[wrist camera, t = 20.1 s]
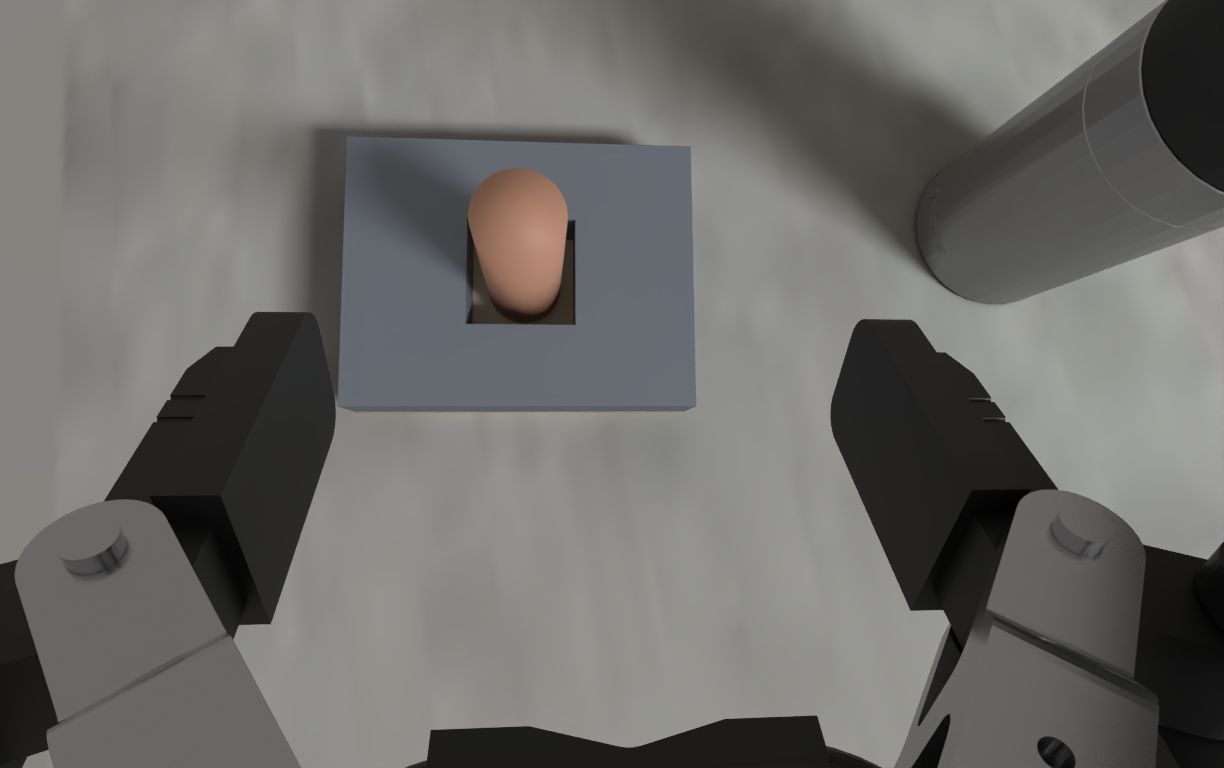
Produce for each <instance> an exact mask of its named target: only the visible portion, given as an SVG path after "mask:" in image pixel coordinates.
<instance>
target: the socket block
mask: <svg viewBox="0 0 1224 768" xmlns="http://www.w3.org/2000/svg"><path fill="white" fill-rule="evenodd" d="M511 168H522V169H528V170H532V171H535V172H538V173H540V174H542V175H544V176H545V177H547V178H548V179H549V180H550V181H552V182H553V183H554V184H555V185H556V186H557V188H558V189H559V191H560V192H561V194H562V196H563V198H564V200H565V203H566V206H567V212H568V222H567V232H566V241H565V250H564V260H563V269H562V278H561V287H560V295H559V299H558V302H557V304H556V306H555V307H554V309H553V310H552V311H551V312H550V313H549V314H548V315H547V316H546V317H544V318H543V319H541V320H539V321H536V322H532V323H517V322H514V321H511V320H509V319H507V318H505V317H503V316H502V315H501V314H500V313H499V312H498V311H497V310H496V309H495V307H494V306H493V304H492V302H491V299H490V296H489V293H488V289H487V286H486V282H485V279H484V275H483V272H482V268H481V265H480V261H479V258H478V255H477V251H476V248H475V244H474V241H473V237H472V234H471V230H470V227H469V222H468V209H469V204H470V201H471V198H472V196H473V194H474V192H475V190H476V189H477V187H478V186H479V185H480V184H481V183H482V182H483V181H484V180H485V179H486V178H488V177H489V176H491V175H492V174H494V173H497V172H499V171H502V170H506V169H511ZM695 406H696V383H695V335H694V287H693V240H692V192H691V147H688V146H654V145H621V144H587V143H554V142H520V141H487V140H454V139H420V138H387V137H353V136H347V146H346V175H345V203H344V232H343V261H342V290H341V319H340V348H339V377H338V407H342V408H345V409H348V410H351V411H354V412H358V413H369V412H684V411H686V410H688V409H690V408H693V407H695Z"/></svg>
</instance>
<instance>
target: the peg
mask: <svg viewBox="0 0 1224 768" xmlns="http://www.w3.org/2000/svg"><path fill="white" fill-rule="evenodd" d="M468 222H469V227H470V230H471V234H472V237H473V241H474V244H475V248H476V251H477V255H478V258H479V261H480V265H481V268H482V272H483V275H484V279H485V282H486V286H487V289H488V293H489V296H490V299H491V302H492V304H493V306H494V307H495V309H496V310H497V311H498V312H499V313H500V314H501V315H502V316H503V317H505V318H507V319H509V320H511V321H514V322H517V323H532V322H536V321H539V320H541V319H543V318H544V317H546V316H547V315H548V314H549V313H550V312H551V311H552V310H553V309H554V307H555V306H556V304H557V302H558V299H559V295H560V287H561V278H562V269H563V260H564V250H565V241H566V232H567V222H568V212H567V206H566V203H565V200H564V198H563V196H562V194H561V192H560V191H559V189H558V188H557V186H556V185H555V184H554V183H553V182H552V181H550V180H549V179H548V178H547V177H545V176H544V175H542V174H540V173H538V172H535V171H532V170H528V169H522V168H511V169H506V170H502V171H499V172H497V173H494V174H492V175H491V176H489V177H488V178H486V179H485V180H484V181H483V182H482V183H481V184H480V185H479V186H478V187H477V189H476V190H475V192H474V194H473V196H472V198H471V201H470V204H469V209H468Z"/></svg>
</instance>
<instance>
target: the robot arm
mask: <svg viewBox="0 0 1224 768" xmlns="http://www.w3.org/2000/svg"><path fill="white" fill-rule="evenodd" d="M1221 227H1224V0H1166V1H1164V2H1163V3H1162V4H1161V5H1159V6H1158V7H1157V8H1155V9H1154V10H1153V11H1151V12H1150V13H1149V14H1147V15H1146V16H1145V17H1143V18H1142V19H1141V20H1139V21H1138V22H1137V23H1136V24H1134V25H1133V26H1132V27H1130V28H1129V29H1128V30H1126V31H1125V32H1124V33H1122V34H1121V35H1120V36H1119V37H1118V38H1116V39H1115V40H1114V41H1112V42H1111V43H1110V44H1108V45H1107V46H1106V47H1104V48H1103V49H1102V50H1101V51H1099V52H1098V53H1097V54H1095V55H1094V56H1093V57H1091V58H1090V59H1089V60H1087V61H1086V62H1085V63H1083V64H1082V65H1081V66H1079V67H1078V68H1077V69H1076V70H1074V71H1073V72H1072V73H1070V74H1069V75H1068V76H1066V77H1065V78H1064V79H1062V80H1061V81H1060V82H1058V83H1057V84H1056V85H1054V86H1053V87H1052V88H1050V89H1049V90H1048V91H1047V92H1045V93H1044V94H1043V95H1041V96H1040V97H1039V98H1037V99H1036V100H1035V101H1033V102H1032V103H1031V104H1029V105H1028V106H1027V107H1025V108H1024V109H1023V110H1022V111H1020V112H1019V113H1018V114H1016V115H1015V116H1014V117H1012V118H1011V119H1010V120H1008V121H1007V122H1006V123H1004V124H1003V125H1002V126H1000V127H999V128H998V129H997V130H995V131H994V132H993V133H991V134H990V135H989V136H987V137H986V138H985V139H983V140H982V141H981V142H979V143H978V144H977V145H975V146H974V147H973V148H972V149H970V150H969V151H968V152H966V153H965V154H964V155H963V156H961V157H960V158H959V159H957V160H956V161H955V162H953V163H952V164H951V165H949V166H948V167H947V168H945V169H944V170H943V171H941V172H940V173H939V174H938V175H937V176H936V177H935V178H934V179H933V180H932V181H931V183H930V184H929V185H928V186H927V188H926V190H925V192H924V194H923V196H922V198H921V201H920V204H919V208H918V212H917V226H916V230H917V236H918V242H919V246H920V249H921V251H922V254H923V257H924V259H925V261H926V262H927V264H928V266H929V267H930V269H931V270H932V272H933V274H934V275H935V276H936V277H937V278H938V279H939V280H940V281H941V282H942V283H943V284H944V285H945V286H946V287H948V288H949V289H951V290H952V291H953V292H955V293H956V294H958V295H960V296H962V297H964V298H967V299H969V300H971V301H974V302H979V303H984V304H1007V303H1011V302H1016V301H1019V300H1022V299H1025V298H1027V297H1030V296H1033V295H1036V294H1039V293H1041V292H1044V291H1047V290H1050V289H1052V288H1055V287H1058V286H1061V285H1064V284H1067V283H1070V282H1072V281H1075V280H1078V279H1081V278H1083V277H1086V276H1089V275H1092V274H1094V273H1097V272H1100V271H1103V270H1105V269H1108V268H1111V267H1114V266H1116V265H1119V264H1122V263H1125V262H1128V261H1130V260H1133V259H1136V258H1139V257H1141V256H1144V255H1147V254H1150V253H1152V252H1155V251H1158V250H1161V249H1163V248H1166V247H1169V246H1172V245H1174V244H1177V243H1180V242H1183V241H1185V240H1188V239H1191V238H1194V237H1196V236H1199V235H1202V234H1205V233H1207V232H1210V231H1213V230H1216V229H1218V228H1221ZM170 396H171V400H167V401H166V403H165V404H164V406H163V408H162V409H161V411H160V412H159V414H158V416H157V422H153V424H152V425H151V427H150V428H149V430H148V432H147V433H146V435H145V436H144V438H143V440H142V441H141V443H140V444H139V446H138V448H137V449H136V451H135V452H134V454H133V456H132V457H131V459H130V460H129V462H128V464H127V465H126V467H125V468H124V470H123V472H122V473H121V475H120V476H119V478H118V480H117V481H116V483H115V484H114V486H113V488H112V489H111V491H110V492H109V494H108V496H107V497H106V499H105V500H104V502H100V503H96V504H92V505H89V506H86V507H83V508H80V509H78V510H75V511H73V512H71V513H69V514H67V515H65V516H63V517H61V518H60V519H58V520H56V521H54V522H53V523H51V524H50V525H49V526H47V527H46V528H45V529H43V530H42V531H41V532H40V533H39V534H37V535H36V536H35V537H34V538H33V539H32V540H31V542H30V543H29V544H28V545H27V546H26V547H25V549H24V550H23V552H22V554H21V555H20V557H19V559H18V560H15V561H12V562H8V563H4V564H0V768H22V766H23V764H24V762H25V760H26V758H27V756H30V755H33V754H37V753H39V752H43V751H46V750H49V752H50V756H51V760H52V763H53V767H54V768H301V767H300V765H299V763H298V761H297V759H296V757H295V755H294V753H293V752H292V750H291V748H290V746H289V744H288V742H287V740H286V738H285V737H284V735H283V733H282V731H281V729H280V727H279V725H278V723H277V721H276V720H275V718H274V716H273V714H272V712H271V710H270V708H269V706H268V705H267V703H266V701H265V699H264V697H263V695H262V693H261V691H260V689H259V688H258V686H257V684H256V682H255V680H254V678H253V676H252V674H251V673H250V671H249V669H248V667H247V665H246V663H245V661H244V659H243V657H242V656H241V654H240V652H239V650H238V648H237V646H236V644H235V643H234V641H233V639H234V636H235V634H236V631H237V628H238V625H252V624H271V622H272V619H273V616H274V613H275V610H276V607H277V604H278V601H279V598H280V595H281V592H282V589H283V586H284V583H285V580H286V577H287V574H288V571H289V568H290V565H291V562H292V559H293V556H294V553H295V550H296V547H297V544H298V541H299V538H300V535H301V532H302V529H303V526H304V523H305V520H306V517H307V514H308V511H309V508H310V505H311V502H312V499H313V496H314V493H315V490H316V487H317V484H318V481H319V478H320V475H321V472H322V469H323V466H324V463H325V460H326V457H327V454H328V451H329V448H330V445H331V442H332V438H333V434H334V429H335V418H336V409H335V398H334V393H333V389H332V384H331V380H330V375H329V371H328V366H327V362H326V358H325V353H324V349H323V344H322V340H321V335H320V331H319V327H318V323H317V321H316V318H315V316H314V315H313V314H312V313H309V312H255V313H254V314H253V315H252V316H251V317H250V319H249V321H248V322H247V324H246V326H245V328H244V329H243V331H242V333H241V335H240V336H239V338H238V340H237V342H236V343H235V345H234V347H215V348H214V349H213V350H211V351H210V352H209V353H207V354H206V355H205V356H203V357H202V358H201V359H199V360H198V361H197V362H195V363H194V364H193V365H191V366H190V367H189V368H187V369H186V371H185V373H184V374H183V376H182V377H181V379H180V381H179V382H178V384H177V385H176V387H175V389H174V390H173V392H172V393H171V395H170ZM831 427H832V432H833V435H834V438H835V441H836V443H837V445H838V447H839V450H840V452H841V454H842V456H843V459H844V461H845V463H846V465H847V468H848V470H849V472H850V474H851V477H852V479H853V481H854V484H855V486H856V488H857V490H858V493H859V495H860V497H861V499H862V502H863V504H864V506H865V508H866V511H867V513H868V515H869V517H870V520H871V522H872V524H873V527H874V529H875V531H876V533H877V536H878V538H879V540H880V542H881V545H882V547H883V549H884V551H885V554H886V556H887V558H888V561H889V563H890V565H891V567H892V570H893V572H894V574H895V576H896V579H897V581H898V583H899V585H900V588H901V590H902V592H903V594H904V597H905V599H906V601H907V604H908V606H909V608H910V610H911V611H914V610H944V612H945V614H946V616H947V618H948V620H949V622H950V624H949V626H948V627H947V629H946V631H945V633H944V635H943V637H942V639H941V642H940V645H939V647H938V650H937V653H936V656H935V659H934V662H933V665H932V668H931V670H930V673H929V676H928V679H927V682H926V685H925V688H924V690H923V693H922V696H921V699H920V702H919V705H918V708H917V711H916V713H915V716H914V719H913V722H912V725H911V728H910V731H909V733H908V736H907V739H906V742H905V744H904V747H903V749H902V751H901V754H900V756H899V758H898V760H897V762H896V764H895V766H894V768H1224V542H1223V543H1222V544H1221V545H1220V546H1219V548H1218V549H1217V550H1216V551H1215V552H1214V553H1213V555H1212V556H1211V557H1210V558H1209V559H1208V560H1206V559H1202V558H1198V557H1193V556H1189V555H1185V554H1181V553H1176V552H1172V551H1168V550H1163V549H1159V548H1155V547H1151V546H1146V545H1143V544H1142V542H1141V541H1140V539H1139V537H1138V536H1137V534H1136V533H1135V532H1134V530H1133V529H1132V528H1131V527H1130V526H1129V525H1128V524H1127V523H1126V522H1125V521H1124V520H1123V519H1122V518H1120V517H1119V516H1118V515H1117V514H1115V513H1114V512H1112V511H1111V510H1109V509H1108V508H1106V507H1105V506H1103V505H1101V504H1099V503H1098V502H1095V501H1093V500H1091V499H1089V498H1087V497H1084V496H1081V495H1078V494H1075V493H1071V492H1067V491H1061V490H1058V489H1057V487H1056V486H1055V484H1054V483H1053V482H1052V480H1051V479H1050V478H1049V476H1048V475H1047V473H1046V472H1045V471H1044V469H1043V468H1042V467H1041V465H1040V464H1039V462H1038V461H1037V460H1036V458H1035V457H1034V456H1033V454H1032V453H1031V452H1030V450H1029V449H1028V447H1027V446H1026V445H1025V443H1024V442H1023V441H1022V439H1021V438H1020V436H1019V435H1018V434H1017V432H1016V431H1015V430H1014V428H1013V427H1012V425H1011V424H1010V423H1009V422H1005V416H1004V414H1003V413H1002V412H1001V410H1000V409H999V408H998V406H997V405H996V404H995V402H991V397H990V395H989V394H988V393H987V391H986V390H985V388H984V387H983V386H982V384H981V383H980V382H979V380H978V379H977V377H976V376H975V375H974V373H972V372H971V371H970V370H968V369H967V368H965V367H964V366H963V365H961V364H960V363H959V362H957V361H956V360H955V359H953V358H952V357H951V356H949V355H948V354H947V353H937V352H936V351H935V349H934V348H933V346H932V345H931V344H930V342H929V341H928V339H927V338H926V336H925V335H924V333H923V332H922V330H921V329H920V328H919V326H918V325H917V324H916V323H915V322H914V321H912V320H879V319H863V320H861V321H859V322H858V323H857V325H856V326H855V328H854V330H853V333H852V336H851V339H850V342H849V346H848V349H847V352H846V355H845V359H844V362H843V365H842V368H841V372H840V375H839V378H838V381H837V385H836V388H835V391H834V394H833V398H832V403H831ZM406 768H881V767H879V766H877V765H875V764H873V763H871V762H869V761H867V760H865V759H863V758H860V757H858V756H855V755H852V754H850V753H847V752H844V751H841V750H838V749H836V748H832V747H828V746H826V745H825V741H824V738H823V735H822V731H821V728H820V724H819V721H818V717H817V716H794V717H767V718H740V719H724V720H721V721H718V722H715V723H711V724H708V725H705V726H702V727H699V728H696V729H693V730H689V731H686V732H683V733H680V734H677V735H674V736H671V737H667V738H664V739H661V740H658V741H655V742H652V743H649V744H645V745H642V746H638V747H633V748H625V747H618V746H614V745H610V744H605V743H601V742H596V741H592V740H587V739H583V738H578V737H574V736H569V735H565V734H561V733H556V732H552V731H547V730H543V729H538V728H534V727H529V726H526V727H499V728H473V729H446V730H431V733H430V741H429V749H428V757H427V760H426V761H423V762H420V763H417V764H414V765H411V766H408V767H406Z"/></svg>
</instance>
